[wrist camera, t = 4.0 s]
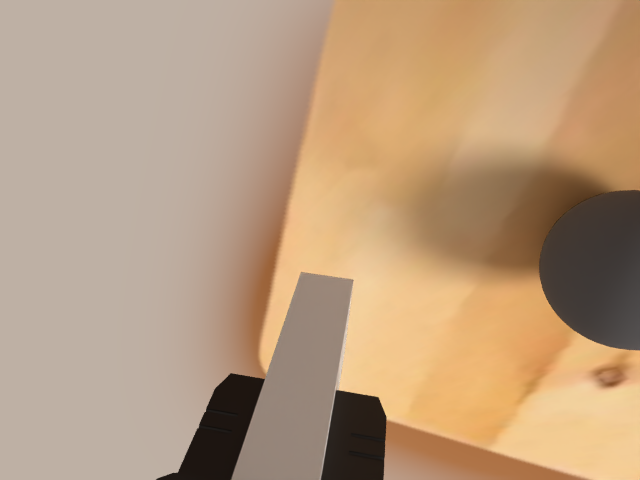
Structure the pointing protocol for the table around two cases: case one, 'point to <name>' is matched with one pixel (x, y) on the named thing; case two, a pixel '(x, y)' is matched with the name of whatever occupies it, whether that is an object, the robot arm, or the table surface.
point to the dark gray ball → (597, 269)
